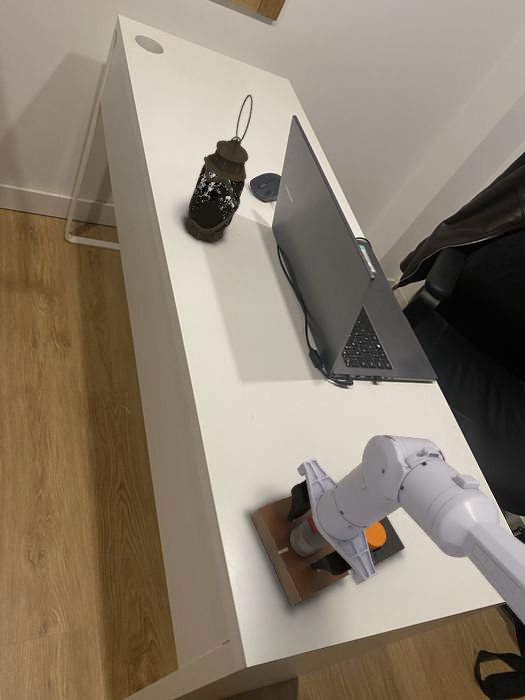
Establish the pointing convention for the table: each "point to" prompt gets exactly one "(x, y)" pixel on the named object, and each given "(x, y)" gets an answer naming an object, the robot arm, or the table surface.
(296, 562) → the dimmer panel
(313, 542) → the dial
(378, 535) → the switch button
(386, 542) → the switch block
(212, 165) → the lantern
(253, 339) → the table surface
